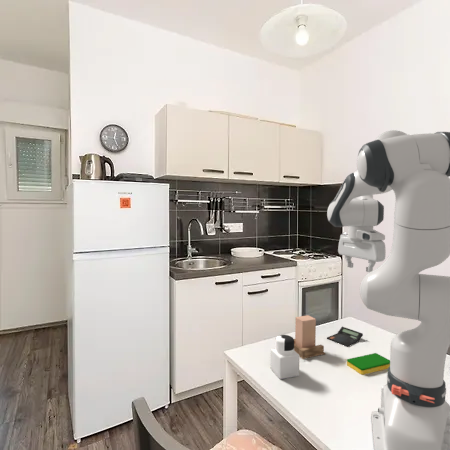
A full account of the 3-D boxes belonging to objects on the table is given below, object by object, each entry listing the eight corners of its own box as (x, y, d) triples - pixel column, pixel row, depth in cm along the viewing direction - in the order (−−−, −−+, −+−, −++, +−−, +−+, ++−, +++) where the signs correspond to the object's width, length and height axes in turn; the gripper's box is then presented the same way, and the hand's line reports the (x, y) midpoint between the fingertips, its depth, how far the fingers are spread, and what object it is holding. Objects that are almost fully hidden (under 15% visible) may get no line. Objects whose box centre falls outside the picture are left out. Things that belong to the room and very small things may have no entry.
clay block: (307, 344, 120) (308, 315, 120) (315, 349, 116) (315, 319, 116) (295, 347, 118) (295, 317, 118) (302, 352, 114) (302, 321, 113)
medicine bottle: (288, 365, 106) (289, 331, 105) (299, 376, 99) (300, 340, 98) (270, 368, 104) (270, 334, 103) (280, 379, 97) (280, 343, 96)
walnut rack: (306, 342, 124) (307, 335, 124) (325, 354, 114) (325, 347, 114) (285, 346, 121) (286, 339, 120) (302, 359, 110) (302, 351, 110)
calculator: (326, 339, 128) (326, 332, 127) (342, 332, 135) (342, 326, 134) (347, 347, 120) (347, 340, 120) (362, 340, 127) (363, 333, 127)
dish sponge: (392, 368, 105) (393, 361, 105) (361, 376, 100) (362, 369, 100) (375, 359, 112) (375, 352, 111) (346, 365, 107) (346, 359, 106)
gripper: (334, 232, 125) (333, 265, 126) (375, 236, 106) (374, 275, 107) (346, 231, 127) (345, 264, 128) (389, 235, 108) (387, 274, 109)
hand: (359, 269), depth 117 cm, fingers open, 8 cm apart
